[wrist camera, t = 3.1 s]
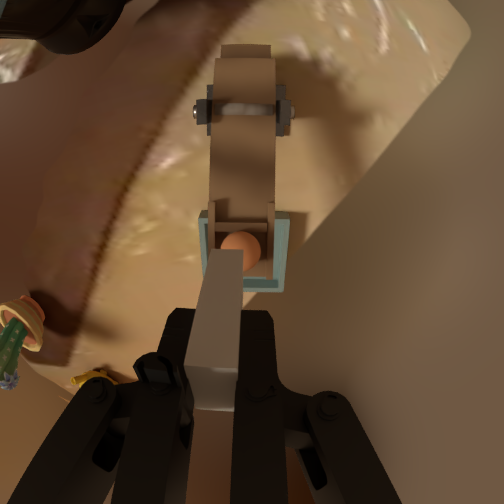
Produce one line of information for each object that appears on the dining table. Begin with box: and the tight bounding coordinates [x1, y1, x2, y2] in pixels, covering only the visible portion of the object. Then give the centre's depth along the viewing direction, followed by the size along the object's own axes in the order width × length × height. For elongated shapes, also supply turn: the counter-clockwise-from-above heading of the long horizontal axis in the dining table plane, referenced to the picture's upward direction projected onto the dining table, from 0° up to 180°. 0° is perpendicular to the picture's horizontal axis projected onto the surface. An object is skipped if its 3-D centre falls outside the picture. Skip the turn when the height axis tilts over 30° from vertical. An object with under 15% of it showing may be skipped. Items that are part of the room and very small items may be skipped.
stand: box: [193, 85, 295, 136], centre depth 27 cm, size 7×10×12 cm
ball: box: [221, 231, 261, 271], centre depth 24 cm, size 4×4×4 cm
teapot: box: [71, 369, 119, 387], centre depth 60 cm, size 14×14×11 cm
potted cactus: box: [0, 295, 45, 390], centre depth 41 cm, size 15×15×25 cm
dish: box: [198, 211, 290, 292], centre depth 42 cm, size 13×13×3 cm
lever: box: [208, 44, 276, 280], centre depth 25 cm, size 24×6×5 cm, turn 179°
